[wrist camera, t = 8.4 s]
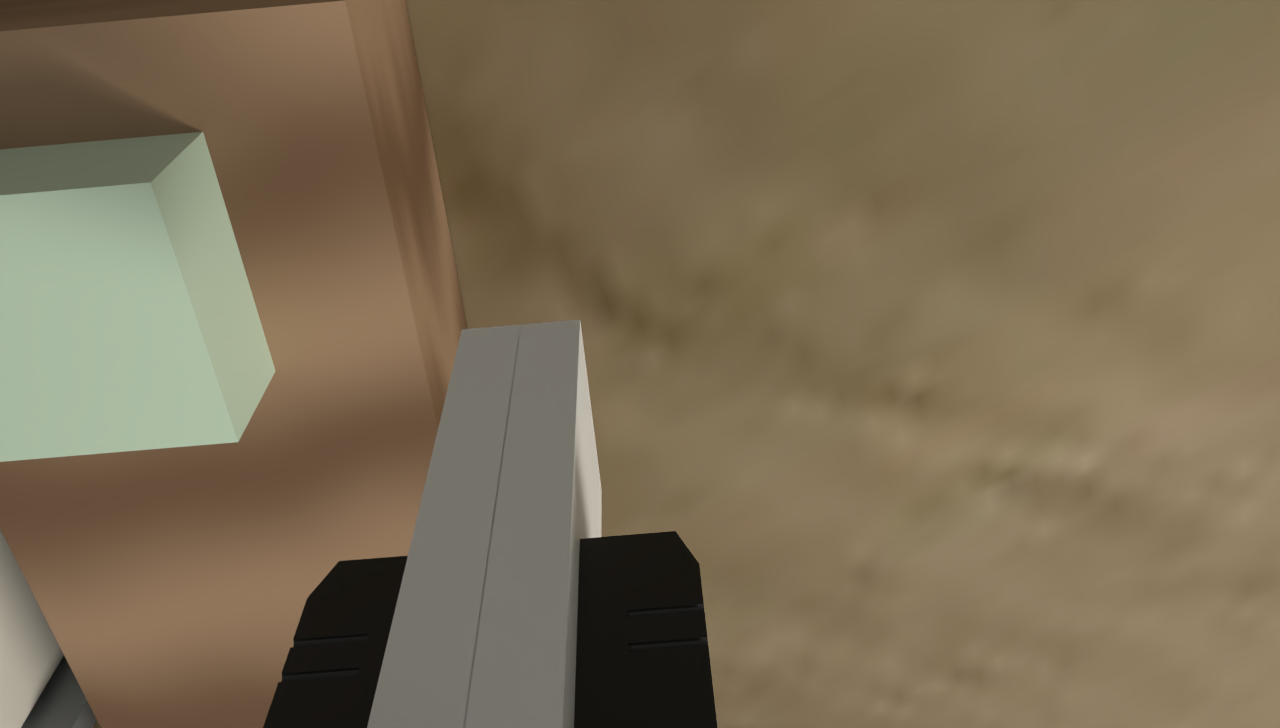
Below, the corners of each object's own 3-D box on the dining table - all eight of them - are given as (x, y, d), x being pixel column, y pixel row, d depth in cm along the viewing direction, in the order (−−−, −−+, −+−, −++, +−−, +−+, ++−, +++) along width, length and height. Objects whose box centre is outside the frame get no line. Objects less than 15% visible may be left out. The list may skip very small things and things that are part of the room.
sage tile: (275, 370, 21) (238, 442, 19) (32, 391, 21) (-33, 464, 19) (202, 131, 19) (150, 182, 16) (-75, 155, 19) (-163, 209, 17)
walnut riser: (526, 640, 32) (513, 778, 28) (203, 665, 32) (141, 807, 28) (396, -50, 22) (345, 0, 18) (-76, -8, 22) (-241, 53, 18)
